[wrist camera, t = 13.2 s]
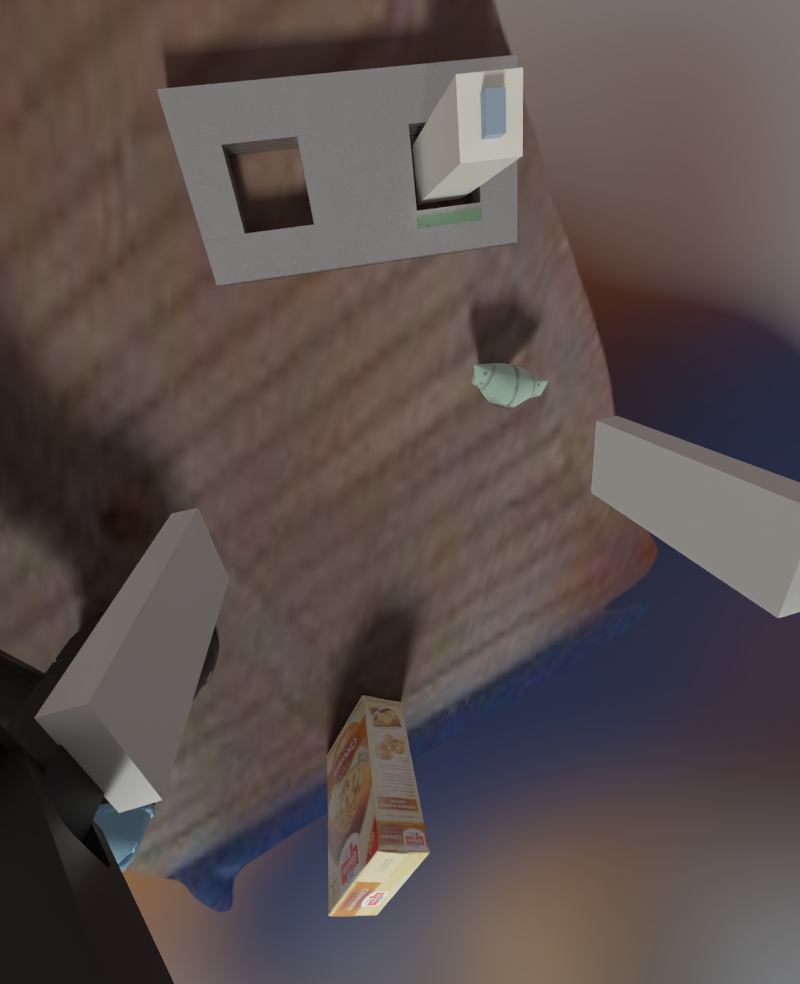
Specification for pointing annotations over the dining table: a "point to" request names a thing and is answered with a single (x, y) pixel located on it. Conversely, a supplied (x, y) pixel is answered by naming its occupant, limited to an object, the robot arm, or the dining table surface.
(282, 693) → the dining table surface
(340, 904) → the coffeecake box
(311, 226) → the panel
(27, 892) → the robot arm
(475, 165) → the plug
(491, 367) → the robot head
